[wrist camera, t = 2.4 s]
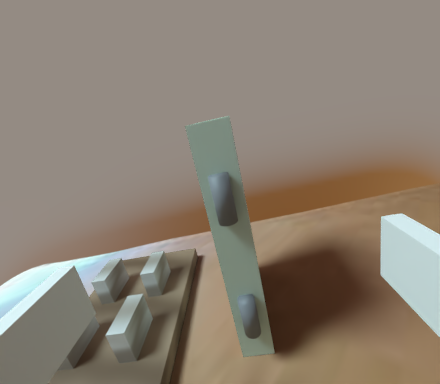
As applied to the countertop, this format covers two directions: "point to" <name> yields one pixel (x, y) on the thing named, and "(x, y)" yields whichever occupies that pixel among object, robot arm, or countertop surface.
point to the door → (231, 231)
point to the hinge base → (133, 322)
